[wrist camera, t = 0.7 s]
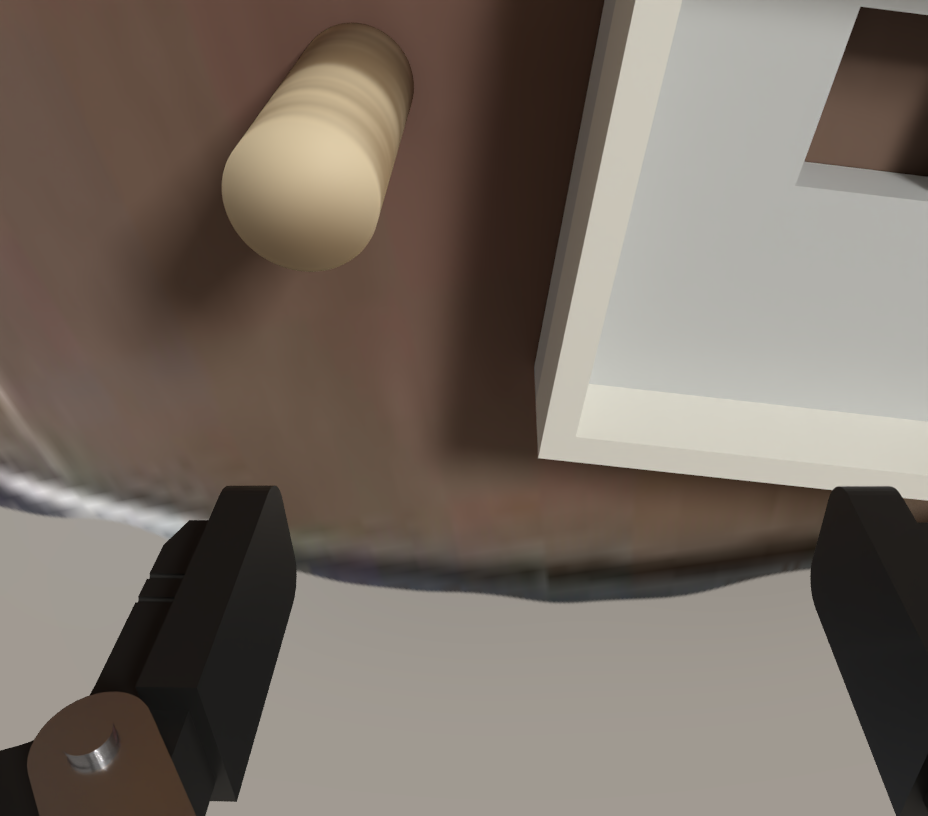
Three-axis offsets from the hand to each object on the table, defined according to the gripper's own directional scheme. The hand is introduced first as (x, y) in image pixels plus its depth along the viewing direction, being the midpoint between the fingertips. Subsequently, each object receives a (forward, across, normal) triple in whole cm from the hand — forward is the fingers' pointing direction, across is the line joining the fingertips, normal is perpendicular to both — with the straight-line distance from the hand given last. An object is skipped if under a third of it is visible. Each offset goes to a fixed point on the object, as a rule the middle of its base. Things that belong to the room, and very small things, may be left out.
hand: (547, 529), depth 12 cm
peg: (+21, +6, -2) cm, 22 cm away
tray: (+21, -12, +2) cm, 24 cm away
